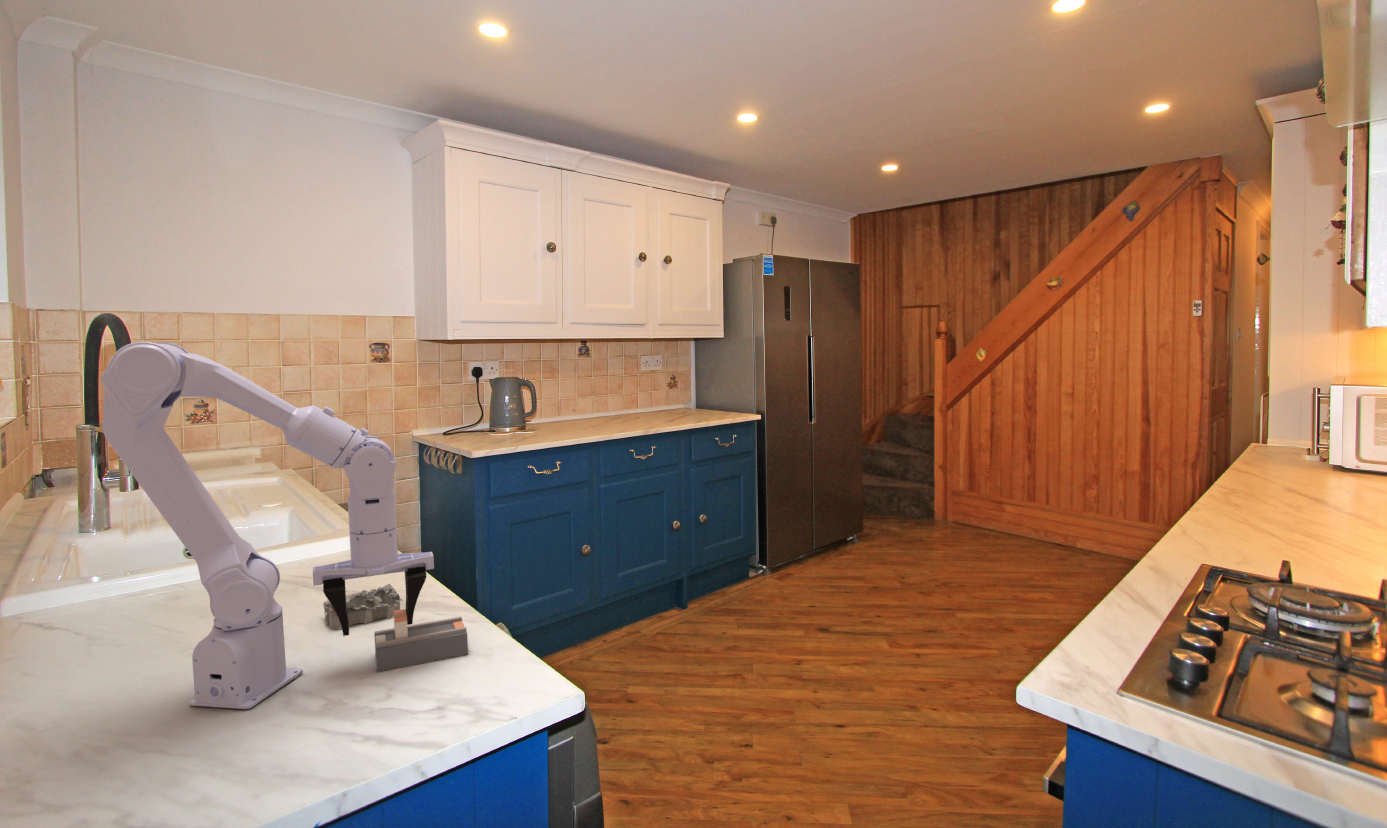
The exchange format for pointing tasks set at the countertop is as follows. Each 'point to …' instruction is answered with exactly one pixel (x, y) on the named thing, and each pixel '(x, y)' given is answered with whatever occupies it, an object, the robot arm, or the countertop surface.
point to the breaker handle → (400, 624)
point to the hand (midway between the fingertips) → (378, 627)
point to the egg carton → (365, 606)
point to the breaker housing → (421, 644)
